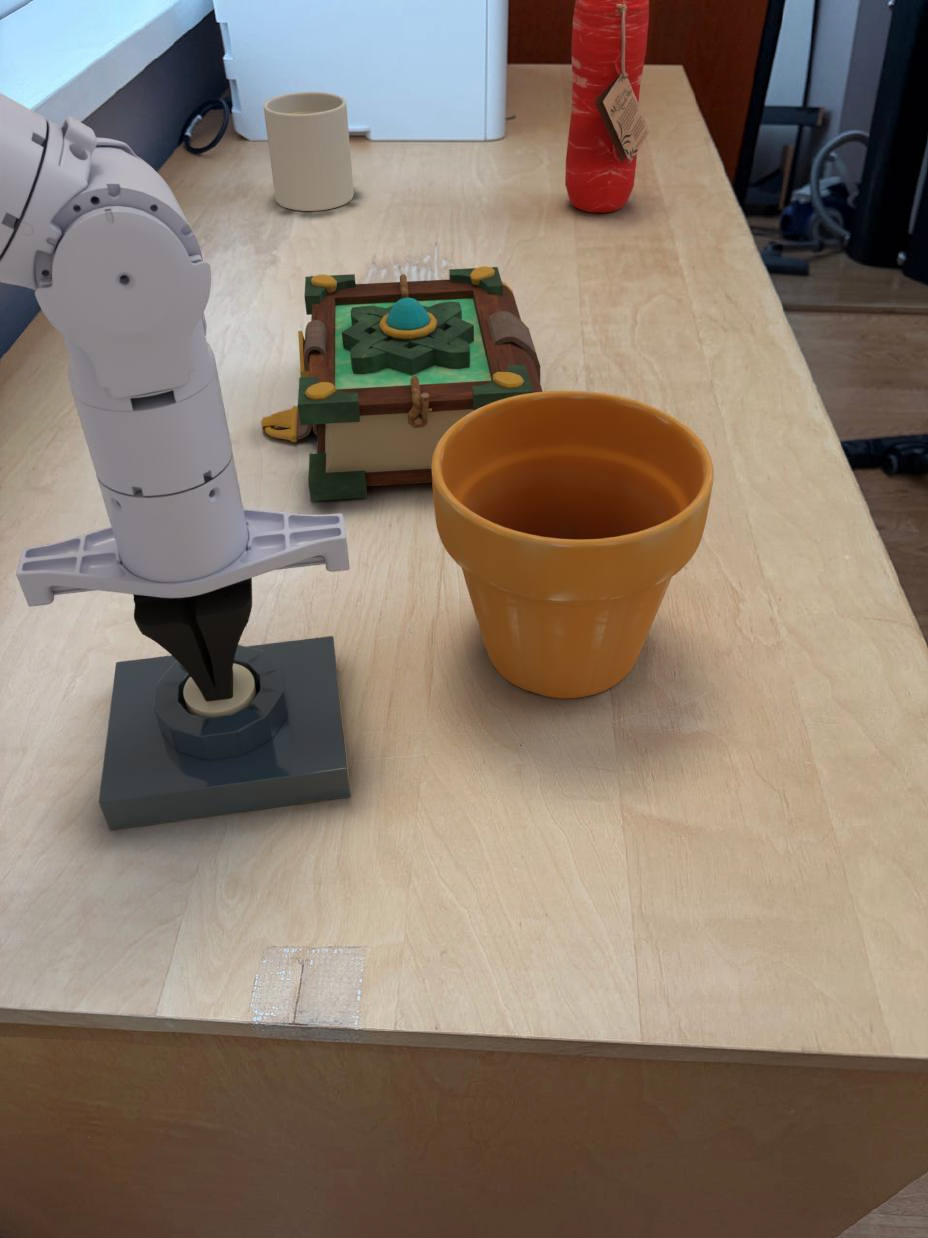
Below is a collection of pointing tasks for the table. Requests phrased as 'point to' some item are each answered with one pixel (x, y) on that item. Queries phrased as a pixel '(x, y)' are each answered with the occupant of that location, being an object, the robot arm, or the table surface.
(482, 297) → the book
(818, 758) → the table surface
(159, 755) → the push button base
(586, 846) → the table surface
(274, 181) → the mug
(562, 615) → the flower pot
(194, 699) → the cream cylinder puck
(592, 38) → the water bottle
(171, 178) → the table surface
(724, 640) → the table surface
